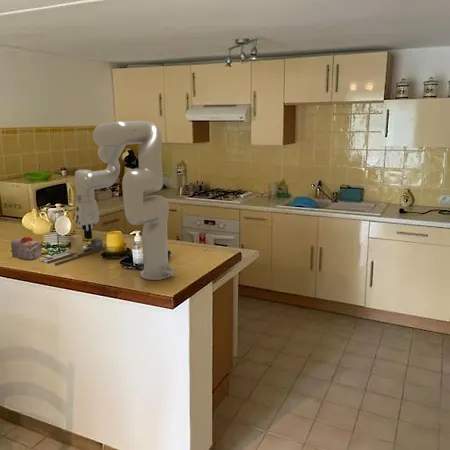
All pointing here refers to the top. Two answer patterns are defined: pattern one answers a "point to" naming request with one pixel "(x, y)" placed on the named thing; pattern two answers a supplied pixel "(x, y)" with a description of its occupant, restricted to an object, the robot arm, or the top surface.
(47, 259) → the grey slide rail
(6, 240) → the top surface
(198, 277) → the top surface
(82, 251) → the sliding head
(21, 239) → the food item
